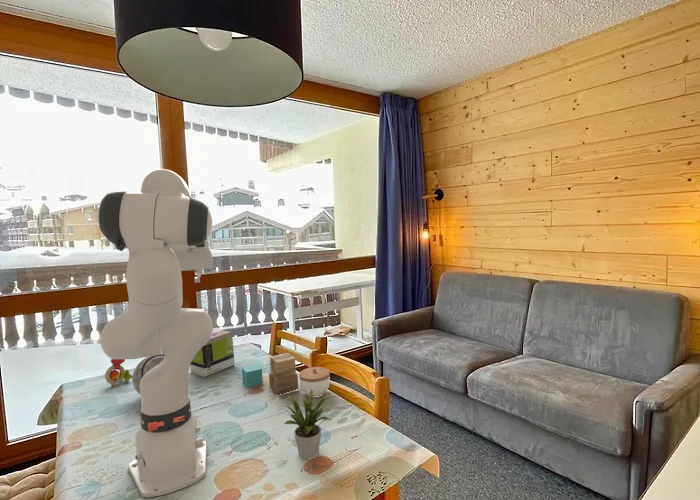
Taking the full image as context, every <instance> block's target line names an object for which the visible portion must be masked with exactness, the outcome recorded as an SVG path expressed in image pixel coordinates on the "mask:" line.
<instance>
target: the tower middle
mask: <svg viewBox="0 0 700 500" xmlns="http://www.w3.org/2000/svg"><path fill="white" fill-rule="evenodd" d="M269 363H270V364H269V366H270V368H269V369H270V372H271V373H272V374H273V375H274V377H275V378H276V379H280V378H284V377H288V376H292V375H296V374H297V372H296V371H297V368H296V367H297V366H296V358H295V357H294V356H293V355H291V354H290V353H289V352H286V353H282V354H281V353H280V354H276V355H272V356H269Z"/></svg>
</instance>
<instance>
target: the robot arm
mask: <svg viewBox="0 0 700 500" xmlns="http://www.w3.org/2000/svg"><path fill="white" fill-rule="evenodd" d="M139 191H140V192H127V191H125V190H124V191H113V192H108V193H107V194H105V195H104V196H103V198H102V200H101V201H100V205H99V206H98V210H97V224H98V226H99V229H100V232H101V233H102V235H103V236H104V237H105V238H106V239H107V241H109V242H110V243H111V244H113V245H114V246H115V248H116V250H118V251H120V252H123V250H125V249H127V250H128V260H127V263H126V264H127V265H126V275H125V276H126V288H127V294H128V307H127V308H126V310H125V311H124V312H123V313H121V314H119V315H118V316H116V317H115V318H113V319H111V320H109V321H108V322H107V323H106V324H105V325H104V327H103V328H102V331H101V334H100V337H99V338H100V346H101V349H102V351H103V353H104V354H105V355H106V356H107V357H108V358H110V360H111V359H125V360H136V359H144V358H146V357H149V356H155V355H161V354H162V355H165V358H164V360H163V361H162V362H161V363H160V364H158V365H157V366H155V367H154V368H152V369H151V370H149V371H148V372H147V373H146V374H145V375H144V376H143V377H142V379H141V381H140V394H139V396H140V397H139V398H140V406H141V408H140V410H139V421H140V427H139V429H138V430H137V431H136V432H135V434H134V436H135V437H134V440H135V441H134V442H135V453H136V454H135V459H133V460H132V461H131V462H129V463H128V467H127V469H128V471H129V474H130V476H131V478H132V480H133V482H134V484H135V486H136V488H137V489H138V490H137V491H138V492H139V493H140V495H141V497H143V498H153V497H158V496H163V495H168V494H171V493H173V492H176V491H180V490H182V489H184V488H186V487H189V486H191V485H193V484H195V483H197V482H199V481H200V480H202V479H203V478H205V477H206V476H207V458H208V457H207V456H208V444H207V441H206V440H203V437H199V433H201V427H200V426H198V420H197V417H195V415H193V414H192V405H191V399H189V396H188V395H189V393H188V391H189V390H188V388H189V386H188V385H189V383H188V380H189V379H188V378H189V371H190V364H191V362H192V360H193V358H194V357H195V355H196V354H197V352H198V351H199V350H200V349H201V348H202V347H203V346H204V345H205V344H206V343H207V342H208V341H209V339H210V338H211V335H212V332H213V331H214V323H213V320H212V317H211V315H210V313H208V312H207V310H204V309H203V308H192V307H190V308H189V307H182V306H183V301H184V299H183V298H184V297H183V275H182V272H185V271H196V270H197V271H196V272H197V273H198V274H197V276H195V277H194V283H195V284H198V283H201V279H200V278H201V277H202V274H203V273H204V270H209V269H212V268H213V267H214V259H213V254H212V251H211V250H210V249H209V248H208V247H209V242H208V241H207V240H208V236H210V233H211V231H212V228H213V218H212V214H211V211H210V209H209V206H208V205H207V204H206V203H205V201H203V200H201V199H199V198H196V194H193V193H192V194H191V191H190V189H189V187H188V185H187V183H186V181H185V180H184V179H183V178H182V176H180V175H179V174H178V173H177V172H174V171H172V170H170V169H166V168H158V169H154V170H151V171H150V172H148V173H147V174H146V175H145V176H144V177H143V179H142V180H141V184H140V190H139Z"/></svg>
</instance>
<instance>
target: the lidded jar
mask: <svg viewBox="0 0 700 500" xmlns="http://www.w3.org/2000/svg"><path fill="white" fill-rule="evenodd" d="M330 376H331V370H329V369H328V368H326V367H323V366H322V367H321V366H313V367H307V368H305V369H302V370H301V371H300V372H299V376H298V378H299V383H300V388H301V391H302V392H303V393H304V394H305V395H306V396H307V395H308V396H309V394H310V392H311V389H312V391H313V397H315V396H320V395H323V394H324V395H325V393H326V392H327V391H328V389H329V387H330V384H331V383H330V381H331V377H330ZM324 395H323V396H324ZM308 396H307V397H308Z"/></svg>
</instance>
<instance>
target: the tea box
mask: <svg viewBox="0 0 700 500" xmlns="http://www.w3.org/2000/svg"><path fill="white" fill-rule="evenodd" d="M235 363H236V362H235V351H234V341H233V332H232V331H227V330H222V329H213V332H212V335H211V338H210V339H209V341H208V342H207V343H206V344H205V345H204V346H203V347H202V348H201V349H200V350H199V351H198V352H197V354H196V355H195V357H194V358H193V360H192V362H191V364H190V367H189V369H190V372H191V373H192V374H195V375H197V376H200V377H204V378H205V377H208V376H210V375H212V374H215V373H217V372H219V371H222V370H225V369H228V368H231V367H233V366H234V365H236V364H235Z"/></svg>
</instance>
